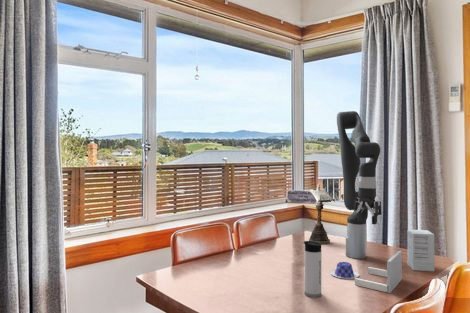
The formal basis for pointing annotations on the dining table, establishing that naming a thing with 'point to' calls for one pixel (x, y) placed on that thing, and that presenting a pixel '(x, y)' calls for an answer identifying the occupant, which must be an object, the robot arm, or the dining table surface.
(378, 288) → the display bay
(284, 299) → the dining table surface
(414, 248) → the supplement box
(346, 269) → the blue checkered hat
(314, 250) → the travel mug
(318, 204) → the brown tall flared piece
